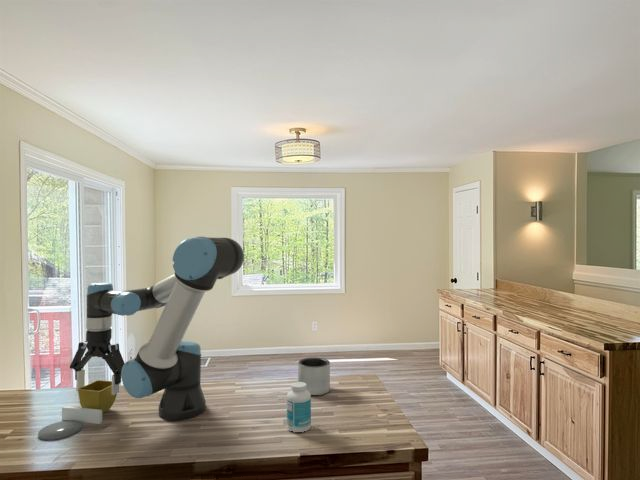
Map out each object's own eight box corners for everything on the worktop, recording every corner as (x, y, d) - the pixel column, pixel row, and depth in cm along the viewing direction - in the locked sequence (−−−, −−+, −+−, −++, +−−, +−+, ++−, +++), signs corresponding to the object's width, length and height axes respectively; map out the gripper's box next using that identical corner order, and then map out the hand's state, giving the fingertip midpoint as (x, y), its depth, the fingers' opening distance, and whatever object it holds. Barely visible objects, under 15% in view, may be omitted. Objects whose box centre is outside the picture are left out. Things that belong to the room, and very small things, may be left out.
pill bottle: (314, 424, 123) (314, 381, 123) (305, 435, 116) (306, 390, 116) (292, 421, 125) (292, 379, 125) (282, 431, 118) (283, 386, 118)
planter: (294, 395, 146) (294, 366, 146) (301, 383, 159) (301, 356, 159) (327, 398, 144) (327, 367, 144) (332, 385, 157) (332, 358, 157)
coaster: (90, 424, 122) (90, 422, 122) (60, 442, 111) (60, 439, 111) (60, 421, 124) (60, 418, 124) (28, 438, 113) (28, 435, 114)
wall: (102, 422, 124) (102, 409, 124) (99, 423, 123) (99, 411, 123) (64, 418, 126) (64, 406, 126) (61, 419, 125) (62, 407, 125)
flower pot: (99, 418, 126) (100, 391, 126) (76, 416, 128) (77, 388, 128) (118, 407, 135) (119, 381, 135) (97, 405, 136) (97, 379, 137)
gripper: (139, 328, 133) (137, 391, 133) (76, 324, 138) (75, 383, 138) (123, 333, 125) (122, 399, 125) (58, 328, 130) (56, 392, 130)
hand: (97, 391), depth 132 cm, fingers open, 13 cm apart
